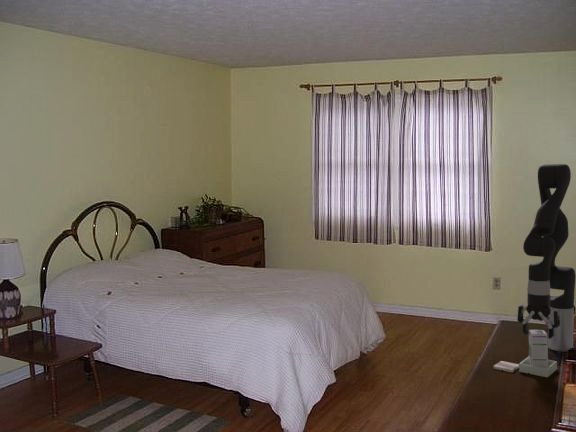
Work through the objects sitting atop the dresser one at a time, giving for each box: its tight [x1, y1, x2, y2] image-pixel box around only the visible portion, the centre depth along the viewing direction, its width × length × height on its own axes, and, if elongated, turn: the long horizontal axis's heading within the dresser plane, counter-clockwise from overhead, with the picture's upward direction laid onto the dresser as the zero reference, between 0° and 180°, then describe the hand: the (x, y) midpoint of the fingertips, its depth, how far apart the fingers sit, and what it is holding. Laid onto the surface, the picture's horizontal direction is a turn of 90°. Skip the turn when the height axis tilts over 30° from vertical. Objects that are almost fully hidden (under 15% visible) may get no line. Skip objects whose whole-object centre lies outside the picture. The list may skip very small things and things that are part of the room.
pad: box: [493, 360, 519, 373], centre depth 226 cm, size 7×7×1 cm
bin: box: [518, 356, 558, 378], centre depth 222 cm, size 10×10×3 cm
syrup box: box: [528, 329, 549, 369], centre depth 222 cm, size 6×6×14 cm
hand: (538, 336), depth 221 cm, fingers open, 8 cm apart
